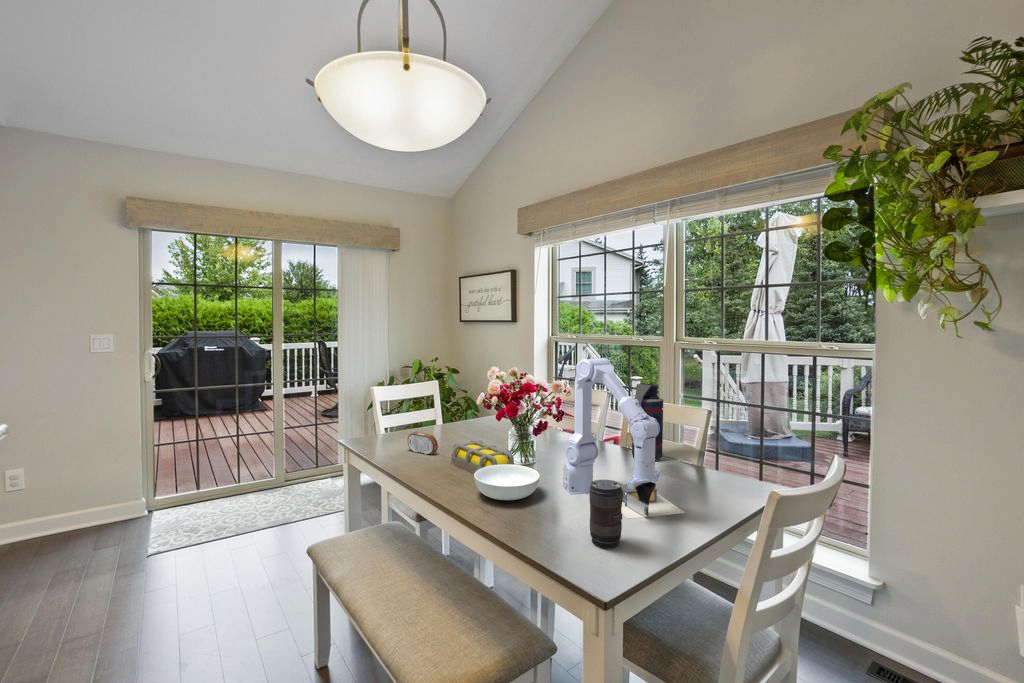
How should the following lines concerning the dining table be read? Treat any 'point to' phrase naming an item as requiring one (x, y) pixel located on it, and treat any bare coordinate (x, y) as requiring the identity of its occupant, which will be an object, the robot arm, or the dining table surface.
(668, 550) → the dining table surface
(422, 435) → the tin
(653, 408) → the grenade
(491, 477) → the serving bowl
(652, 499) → the grey and orange box
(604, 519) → the camera lens
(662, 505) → the mat
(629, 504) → the door
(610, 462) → the dining table surface
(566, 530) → the dining table surface
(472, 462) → the cage light
